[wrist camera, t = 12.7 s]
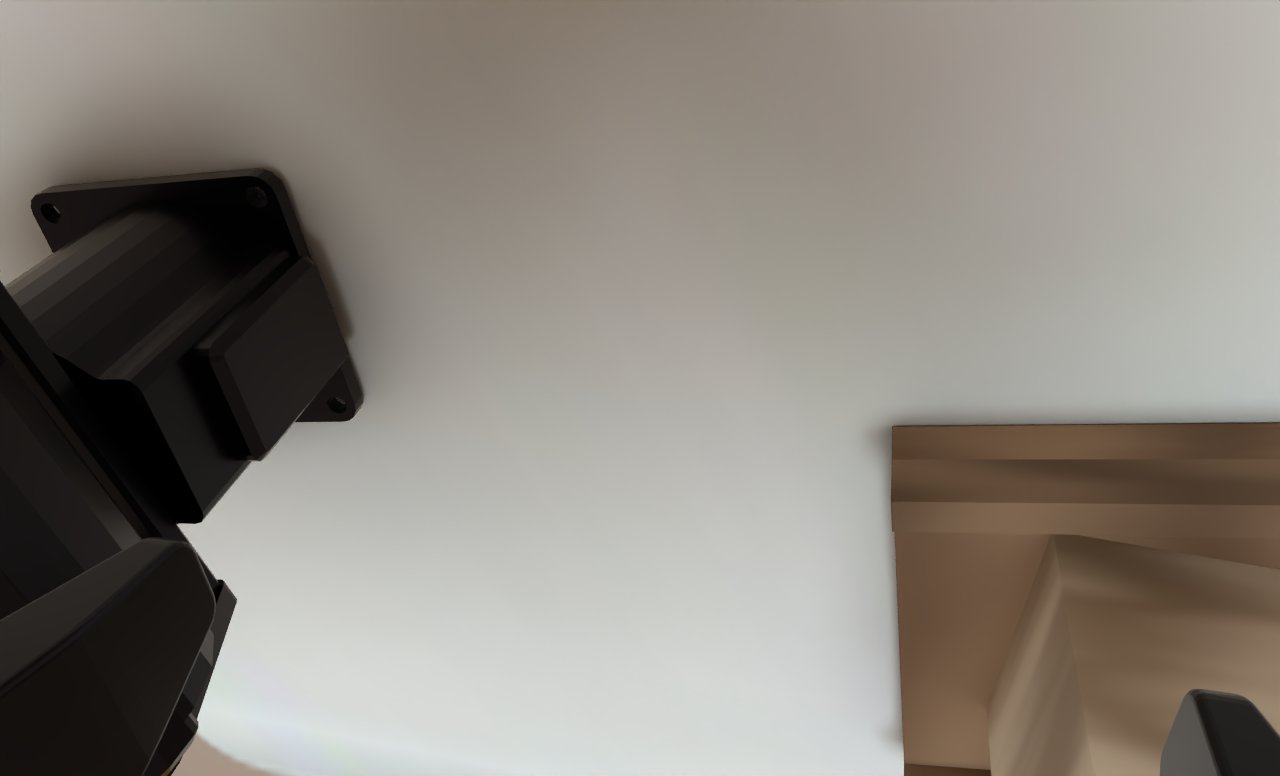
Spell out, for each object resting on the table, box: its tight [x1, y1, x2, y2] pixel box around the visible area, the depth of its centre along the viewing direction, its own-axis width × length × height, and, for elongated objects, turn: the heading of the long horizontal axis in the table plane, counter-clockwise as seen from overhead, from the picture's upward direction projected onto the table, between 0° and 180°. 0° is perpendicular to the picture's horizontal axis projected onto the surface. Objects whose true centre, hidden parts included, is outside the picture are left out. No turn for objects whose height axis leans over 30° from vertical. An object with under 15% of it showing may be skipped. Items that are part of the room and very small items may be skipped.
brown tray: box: [891, 423, 1280, 776], centre depth 23 cm, size 11×11×3 cm
